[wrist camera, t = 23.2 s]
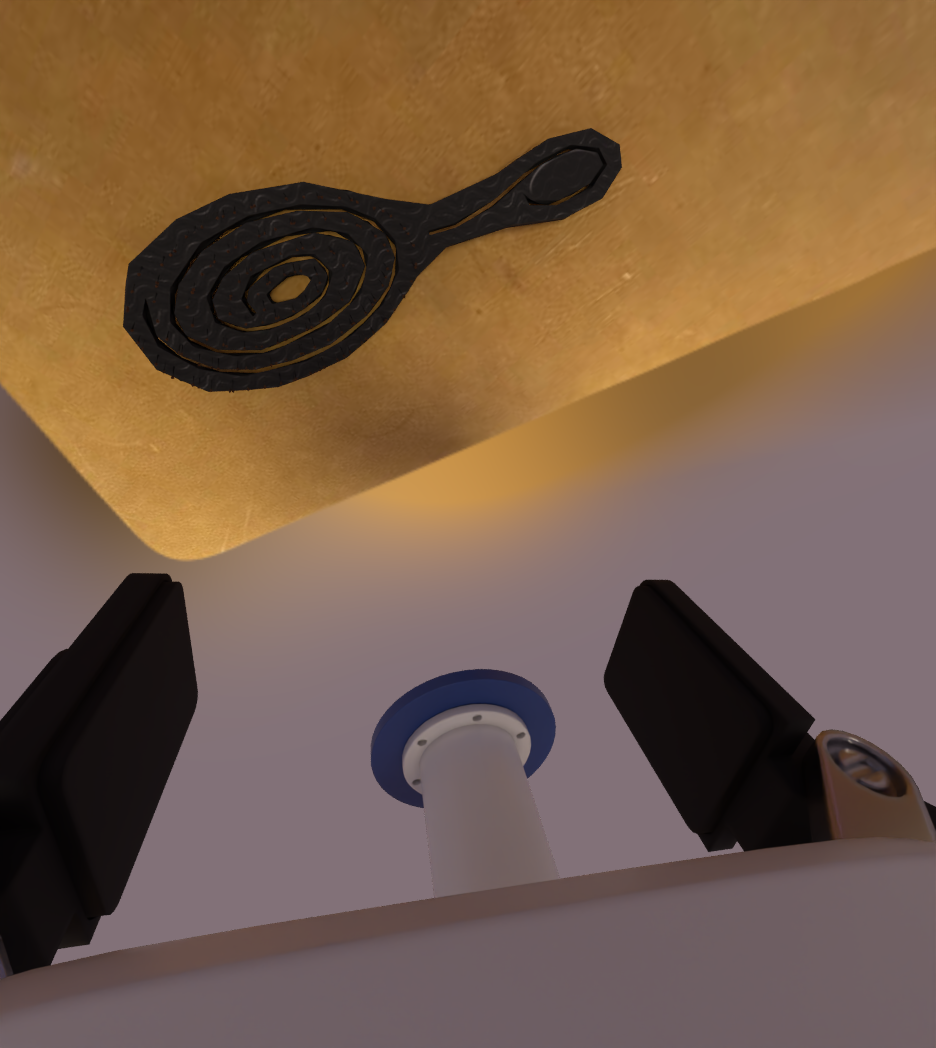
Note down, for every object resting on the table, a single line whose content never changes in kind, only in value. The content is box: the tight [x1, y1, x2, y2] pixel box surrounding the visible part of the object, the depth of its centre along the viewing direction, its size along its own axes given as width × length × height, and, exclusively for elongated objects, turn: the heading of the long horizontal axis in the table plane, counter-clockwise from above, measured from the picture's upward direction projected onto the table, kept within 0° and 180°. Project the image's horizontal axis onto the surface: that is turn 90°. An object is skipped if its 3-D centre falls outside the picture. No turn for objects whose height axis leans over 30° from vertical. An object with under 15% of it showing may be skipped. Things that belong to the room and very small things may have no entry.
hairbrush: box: [123, 128, 622, 393], centre depth 23 cm, size 8×4×25 cm
